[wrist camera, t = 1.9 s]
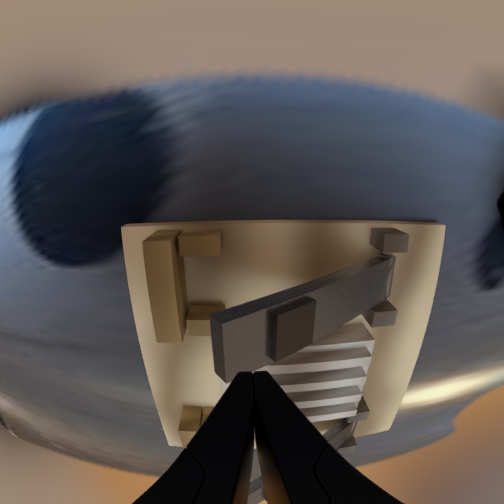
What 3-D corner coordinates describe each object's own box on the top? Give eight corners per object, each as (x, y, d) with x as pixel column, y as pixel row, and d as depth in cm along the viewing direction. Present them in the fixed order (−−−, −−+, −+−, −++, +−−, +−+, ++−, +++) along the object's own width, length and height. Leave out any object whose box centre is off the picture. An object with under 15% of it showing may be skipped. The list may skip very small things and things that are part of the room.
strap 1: (384, 250, 16) (400, 254, 15) (378, 294, 17) (393, 299, 16) (208, 309, 9) (226, 323, 9) (214, 374, 10) (231, 391, 9)
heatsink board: (437, 222, 17) (474, 236, 13) (385, 422, 22) (400, 451, 18) (127, 223, 16) (97, 239, 12) (170, 437, 21) (163, 471, 18)
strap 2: (352, 409, 20) (363, 416, 19) (345, 430, 20) (355, 436, 19) (230, 491, 13) (241, 502, 12) (232, 506, 14) (242, 516, 13)
